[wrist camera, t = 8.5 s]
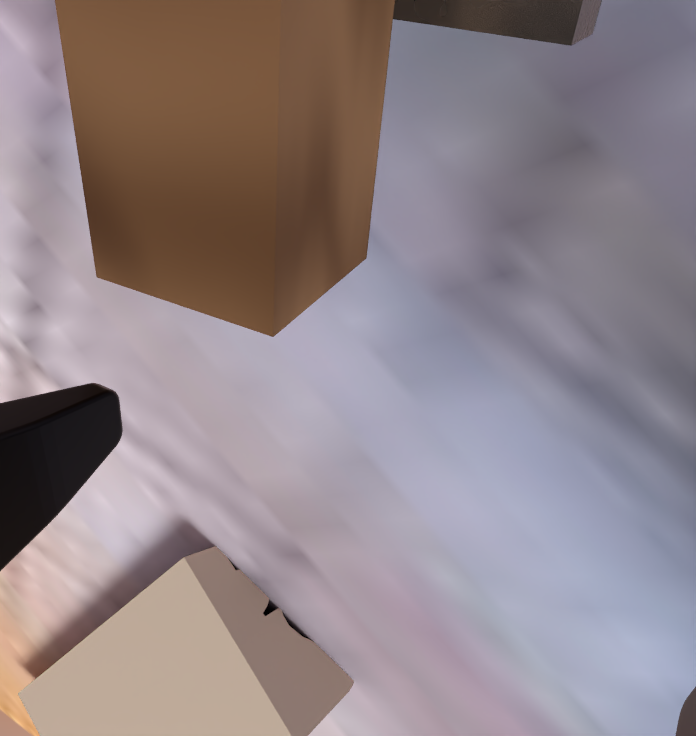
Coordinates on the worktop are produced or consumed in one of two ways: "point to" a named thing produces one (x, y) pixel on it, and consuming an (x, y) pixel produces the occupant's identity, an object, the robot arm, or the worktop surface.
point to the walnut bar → (228, 146)
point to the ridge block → (507, 17)
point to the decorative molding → (189, 665)
